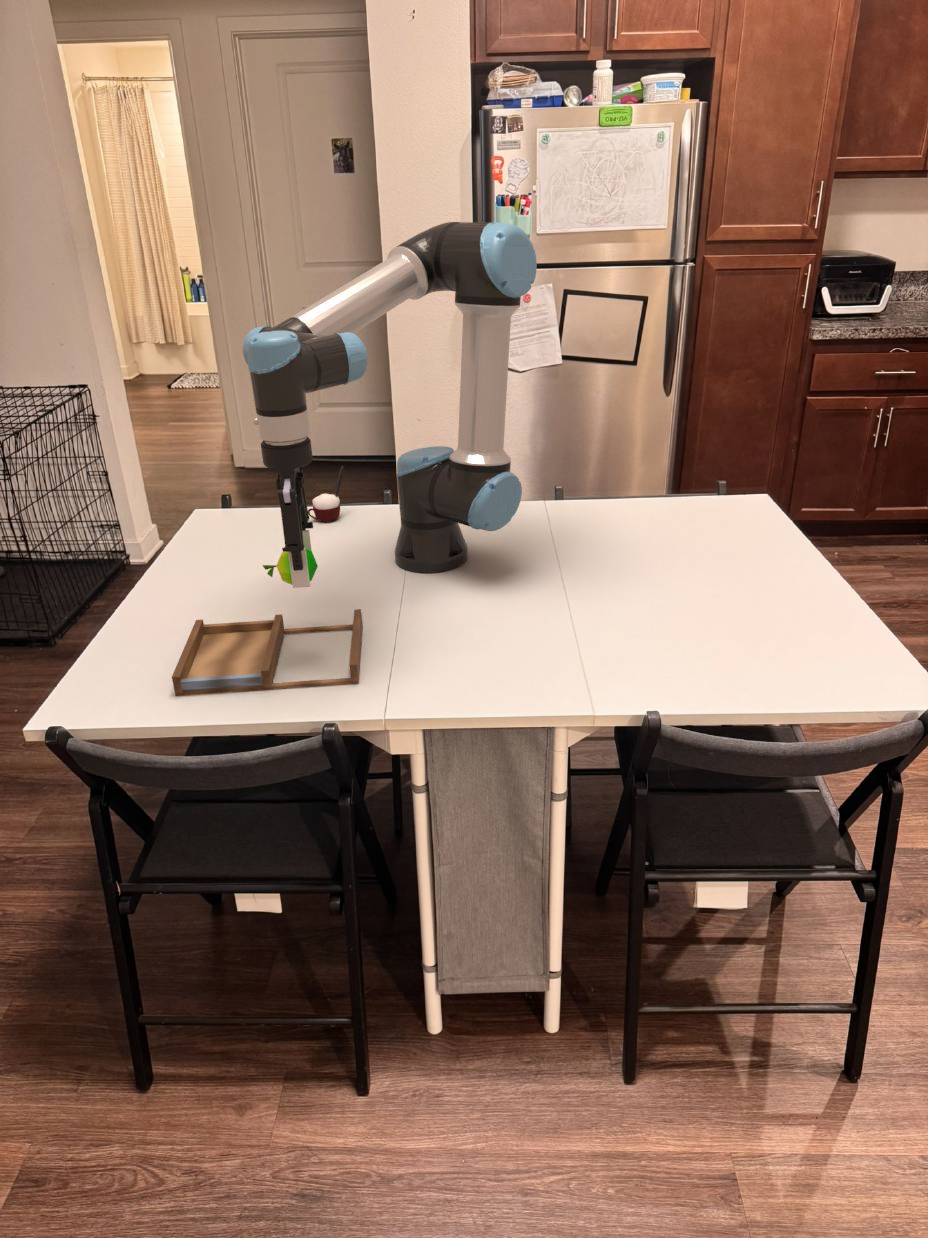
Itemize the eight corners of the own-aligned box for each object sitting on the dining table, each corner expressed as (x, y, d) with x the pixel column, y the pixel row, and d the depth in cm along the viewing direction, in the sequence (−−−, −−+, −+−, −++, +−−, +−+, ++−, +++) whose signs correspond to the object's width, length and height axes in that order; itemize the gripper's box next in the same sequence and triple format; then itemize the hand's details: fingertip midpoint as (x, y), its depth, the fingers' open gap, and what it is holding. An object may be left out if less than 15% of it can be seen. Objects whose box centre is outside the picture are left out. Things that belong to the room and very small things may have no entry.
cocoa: (309, 526, 214) (300, 477, 208) (312, 516, 219) (303, 467, 213) (349, 523, 214) (342, 473, 208) (352, 512, 219) (344, 464, 213)
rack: (362, 626, 167) (361, 609, 165) (358, 683, 149) (356, 664, 147) (199, 637, 166) (196, 619, 164) (175, 696, 148) (171, 677, 146)
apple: (315, 538, 148) (259, 539, 148) (313, 574, 146) (256, 575, 146) (322, 558, 155) (268, 559, 155) (320, 593, 152) (266, 594, 152)
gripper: (267, 422, 149) (286, 554, 159) (251, 459, 131) (273, 604, 142) (314, 420, 149) (330, 551, 160) (304, 456, 132) (322, 601, 142)
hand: (303, 576), depth 151 cm, fingers closed on apple, 7 cm apart
